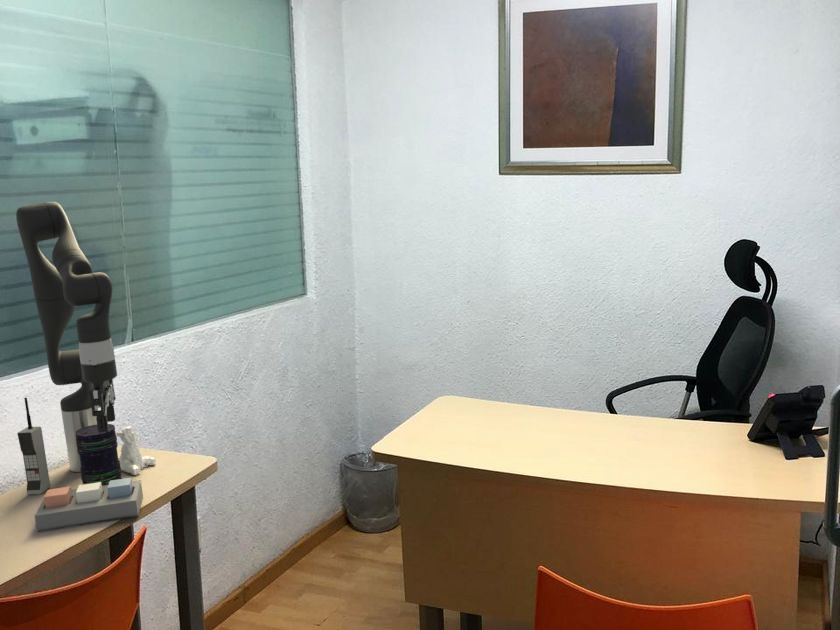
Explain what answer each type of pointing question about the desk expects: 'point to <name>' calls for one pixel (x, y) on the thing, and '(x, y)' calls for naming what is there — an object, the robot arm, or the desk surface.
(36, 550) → the desk surface
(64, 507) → the key console
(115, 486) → the blue-grey block
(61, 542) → the desk surface
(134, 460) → the sitting furry creature
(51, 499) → the orange block
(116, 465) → the storage jar
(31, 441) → the vintage mobile phone
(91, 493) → the white key
